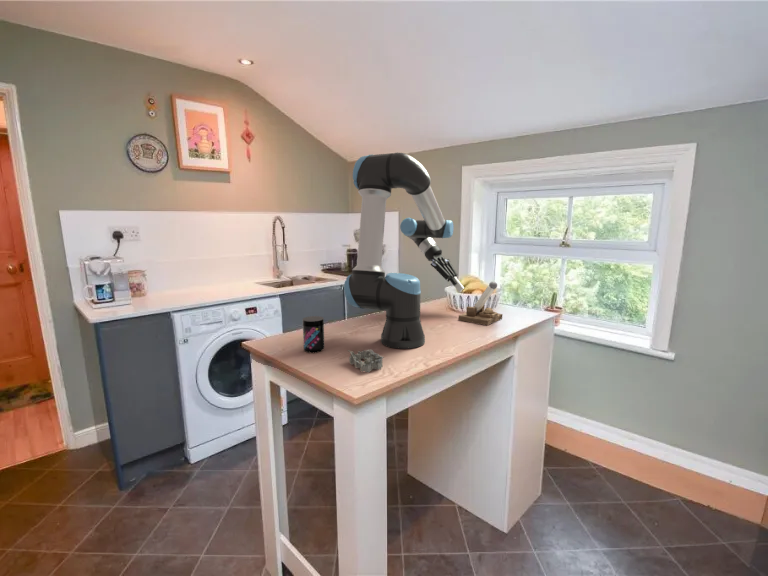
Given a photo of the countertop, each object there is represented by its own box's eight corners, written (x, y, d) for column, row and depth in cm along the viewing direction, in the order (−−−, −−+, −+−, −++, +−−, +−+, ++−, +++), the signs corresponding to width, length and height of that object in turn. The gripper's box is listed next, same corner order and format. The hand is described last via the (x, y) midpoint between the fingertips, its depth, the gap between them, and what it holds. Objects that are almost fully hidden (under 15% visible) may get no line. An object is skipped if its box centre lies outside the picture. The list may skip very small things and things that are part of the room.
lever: (474, 315, 158) (495, 285, 150) (468, 310, 160) (489, 280, 152) (479, 313, 162) (500, 284, 154) (474, 308, 163) (494, 279, 155)
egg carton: (346, 362, 112) (346, 349, 111) (369, 358, 116) (368, 345, 115) (362, 374, 103) (362, 360, 102) (386, 369, 106) (386, 355, 106)
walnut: (490, 317, 154) (491, 309, 153) (482, 316, 156) (482, 307, 156) (494, 316, 157) (494, 307, 156) (486, 314, 159) (486, 306, 158)
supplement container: (300, 349, 123) (298, 318, 121) (318, 345, 127) (317, 315, 125) (309, 354, 118) (308, 322, 116) (328, 350, 122) (327, 319, 120)
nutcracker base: (487, 325, 150) (488, 312, 149) (458, 320, 158) (459, 307, 157) (502, 318, 160) (503, 306, 159) (474, 313, 169) (474, 301, 168)
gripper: (433, 254, 178) (463, 293, 170) (417, 256, 169) (448, 297, 161) (443, 243, 174) (474, 283, 166) (427, 244, 164) (459, 286, 156)
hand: (461, 290), depth 163 cm, fingers closed
